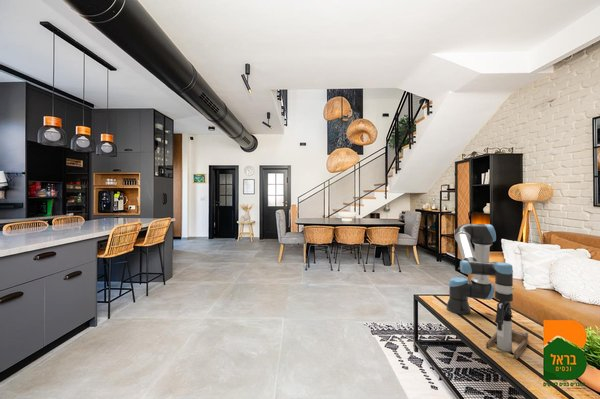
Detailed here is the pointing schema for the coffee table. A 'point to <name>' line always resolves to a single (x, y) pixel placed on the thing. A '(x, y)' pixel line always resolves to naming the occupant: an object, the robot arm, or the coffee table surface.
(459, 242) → the robot arm
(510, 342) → the travel mug
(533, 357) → the coffee table surface
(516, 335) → the bay
